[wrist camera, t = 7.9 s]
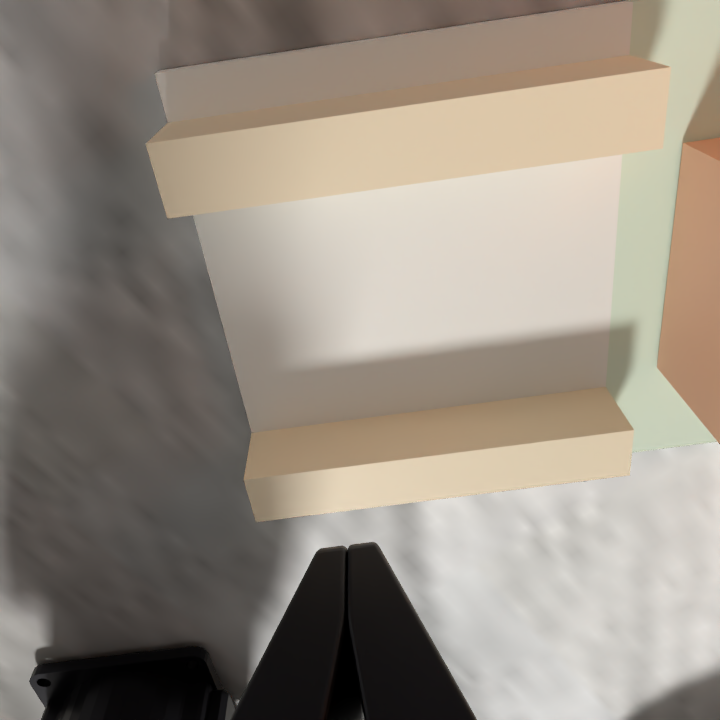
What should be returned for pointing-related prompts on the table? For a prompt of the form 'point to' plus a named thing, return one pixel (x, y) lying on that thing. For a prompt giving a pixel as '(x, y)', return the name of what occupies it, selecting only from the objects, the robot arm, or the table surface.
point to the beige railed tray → (446, 248)
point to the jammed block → (695, 286)
